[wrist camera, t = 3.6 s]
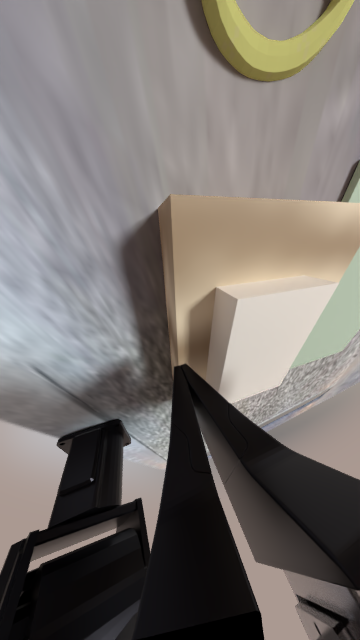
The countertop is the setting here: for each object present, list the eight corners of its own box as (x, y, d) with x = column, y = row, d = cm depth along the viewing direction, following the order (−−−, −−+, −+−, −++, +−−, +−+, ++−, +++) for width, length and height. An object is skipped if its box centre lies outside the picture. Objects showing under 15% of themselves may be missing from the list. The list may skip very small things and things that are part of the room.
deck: (263, 363, 21) (282, 380, 18) (173, 391, 17) (180, 417, 15) (328, 211, 11) (384, 204, 9) (157, 208, 8) (170, 194, 5)
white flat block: (263, 369, 15) (279, 385, 13) (204, 388, 13) (215, 409, 12) (304, 275, 10) (339, 282, 8) (216, 286, 8) (238, 299, 6)
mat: (338, 349, 27) (341, 351, 26) (263, 374, 22) (266, 377, 22) (471, 177, 14) (481, 175, 14) (360, 159, 10) (370, 155, 9)
